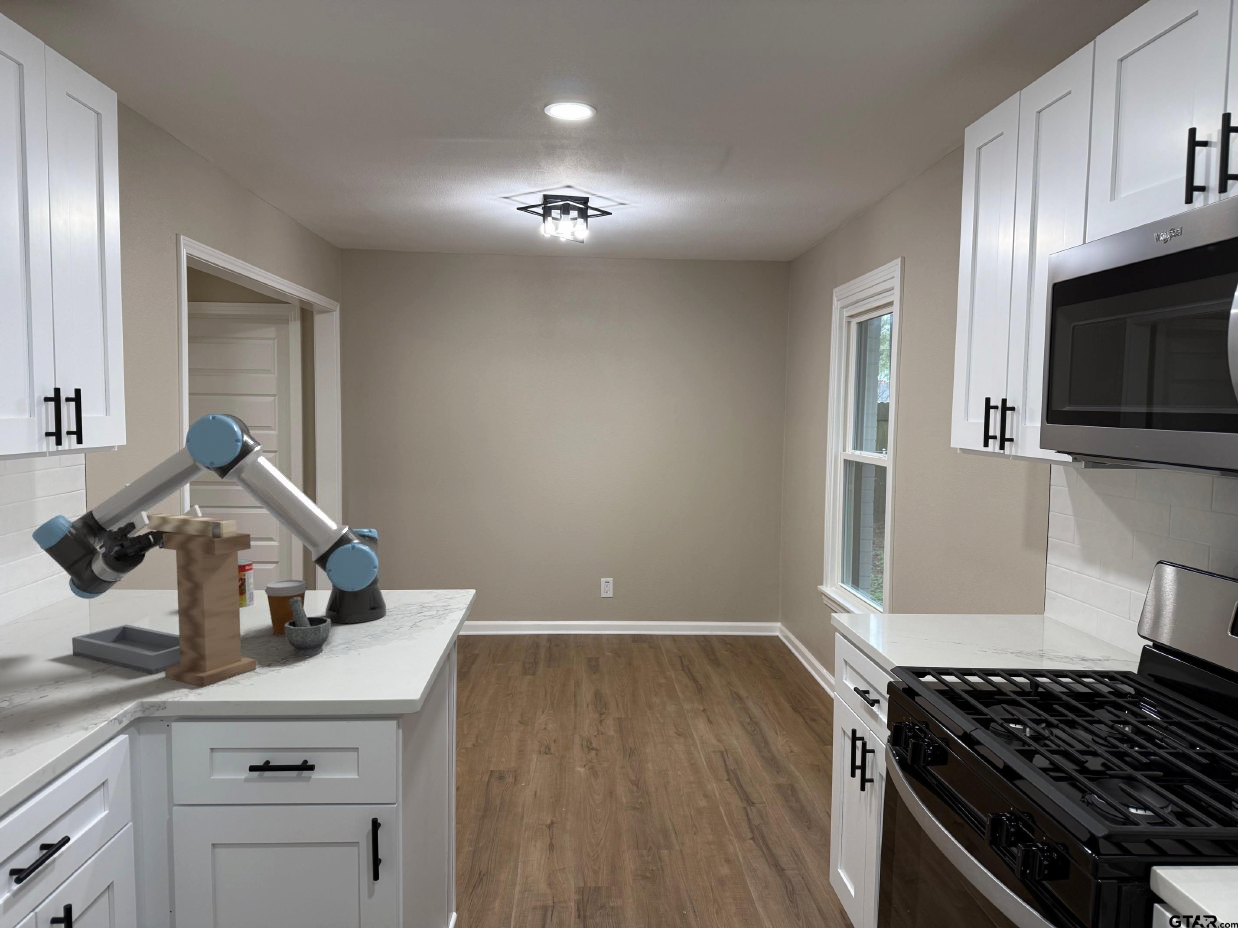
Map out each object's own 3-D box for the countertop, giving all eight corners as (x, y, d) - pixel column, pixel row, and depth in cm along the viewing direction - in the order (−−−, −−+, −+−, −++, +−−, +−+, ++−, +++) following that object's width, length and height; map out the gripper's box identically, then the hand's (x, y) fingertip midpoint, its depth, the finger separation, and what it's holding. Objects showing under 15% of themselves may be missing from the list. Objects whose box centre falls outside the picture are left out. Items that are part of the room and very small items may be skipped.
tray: (72, 655, 178) (72, 637, 178) (126, 641, 189) (126, 624, 189) (152, 674, 166) (152, 655, 165) (205, 658, 176) (205, 640, 176)
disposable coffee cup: (282, 639, 190) (281, 589, 190) (257, 633, 196) (256, 584, 195) (316, 630, 199) (315, 582, 198) (292, 624, 204) (290, 577, 203)
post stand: (159, 675, 165) (153, 535, 163) (212, 659, 176) (207, 527, 173) (211, 688, 158) (205, 541, 156) (262, 670, 168) (258, 532, 166)
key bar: (144, 529, 170) (144, 515, 170) (162, 526, 174) (162, 513, 174) (220, 538, 160) (220, 522, 159) (238, 535, 163) (238, 520, 163)
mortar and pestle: (339, 651, 181) (338, 598, 181) (301, 661, 174) (300, 607, 173) (311, 642, 188) (310, 591, 187) (273, 652, 181) (272, 599, 180)
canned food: (226, 602, 227) (224, 559, 226) (256, 600, 229) (255, 558, 228) (219, 608, 219) (217, 565, 218) (250, 607, 221) (249, 563, 220)
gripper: (175, 563, 188) (228, 522, 179) (68, 583, 167) (122, 538, 158) (164, 535, 189) (216, 492, 180) (56, 551, 169) (109, 504, 159)
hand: (172, 513), depth 169 cm, fingers open, 11 cm apart
